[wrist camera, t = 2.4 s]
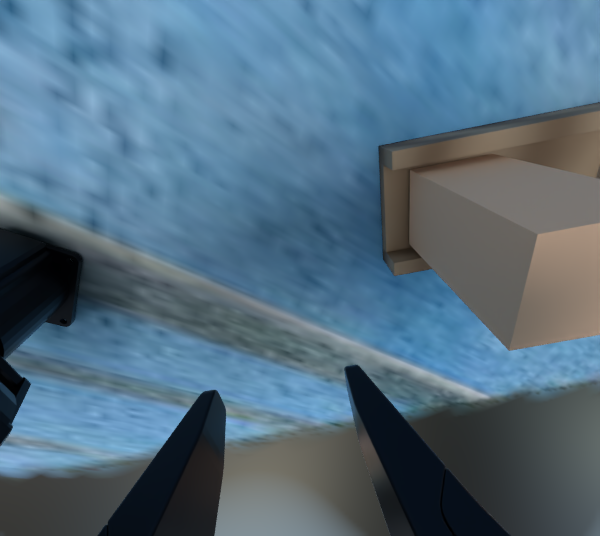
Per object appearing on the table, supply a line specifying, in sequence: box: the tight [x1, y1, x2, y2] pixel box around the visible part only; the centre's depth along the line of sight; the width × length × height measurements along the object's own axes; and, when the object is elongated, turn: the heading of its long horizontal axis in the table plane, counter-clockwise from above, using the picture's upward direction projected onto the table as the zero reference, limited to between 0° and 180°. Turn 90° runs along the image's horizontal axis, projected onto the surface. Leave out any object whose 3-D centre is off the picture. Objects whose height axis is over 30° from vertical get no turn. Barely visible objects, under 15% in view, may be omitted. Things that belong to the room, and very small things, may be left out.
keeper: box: [409, 154, 600, 351], centre depth 15 cm, size 5×5×10 cm
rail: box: [379, 102, 600, 276], centre depth 19 cm, size 17×8×2 cm, turn 100°
